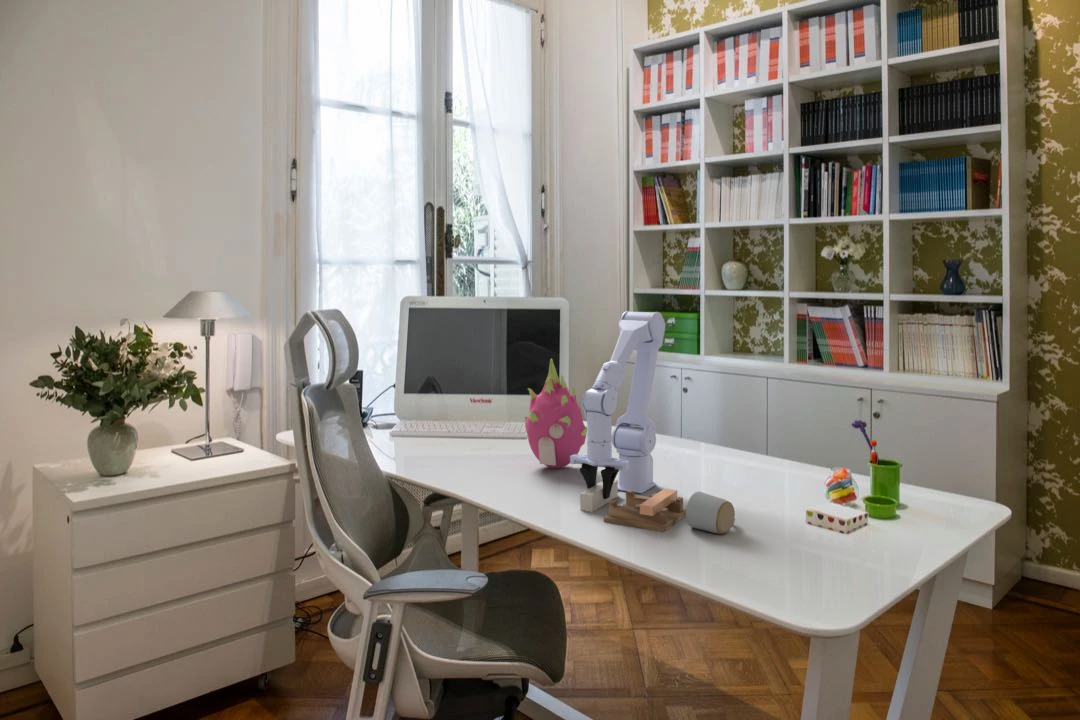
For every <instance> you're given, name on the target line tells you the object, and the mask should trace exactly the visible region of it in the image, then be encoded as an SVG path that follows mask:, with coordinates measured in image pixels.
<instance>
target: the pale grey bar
mask: <svg viewBox="0 0 1080 720" xmlns="http://www.w3.org/2000/svg"><path fill="white" fill-rule="evenodd" d="M618 484H619V479H615V480H614V482H613V485H612V488H611V493H610V497H609V498H607V499H603V481H600V482H598V483H596V485H595V486H593V487H591V488H589V489H588V488H587V489H586V490H584V491H582V492H580V494H579V500H580V501H579V502H580V503H579V504H580V507H579V508H580V509H582V510H581V511H584V510H588V511H587V512H590V511H593V512H594V511H596V510H597V508H598V509H600V508H601V507H602V506H604V505H606V504H608V503H609V502H610V501H612V500H614V499H615V498H617V497H619V495H618V493H619V490H618ZM580 509H579V510H580ZM595 509H596V510H595Z"/></svg>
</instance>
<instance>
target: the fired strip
mask: <svg viewBox="0 0 1080 720" xmlns="http://www.w3.org/2000/svg"><path fill="white" fill-rule="evenodd" d="M655 494H656V495H654V496H653V497H651V498H649V499H648V500H646V501H645V502H643V503H642V504H640V514H643V515H649V516H654V515H655V514H656V513H658V512H659V511H660V510H661V509H662V508H665V507H666V506H668V505H669V504H671V503H672V502H674V501H676V499H677V498H678V490H677V489H670V488H663V489H662V490H660V491H659V492H657V493H655Z"/></svg>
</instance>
